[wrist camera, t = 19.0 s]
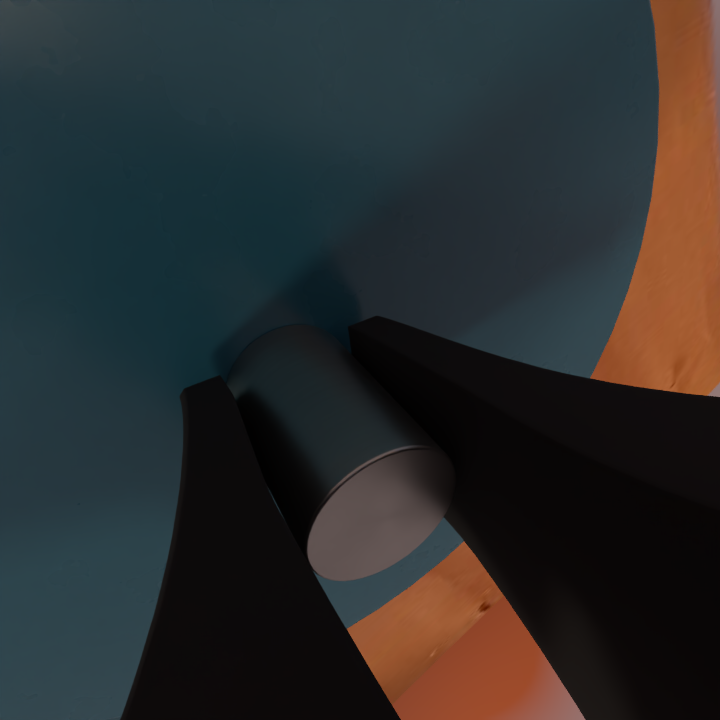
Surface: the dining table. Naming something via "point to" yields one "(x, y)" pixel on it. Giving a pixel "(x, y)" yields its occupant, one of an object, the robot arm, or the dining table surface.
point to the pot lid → (281, 275)
